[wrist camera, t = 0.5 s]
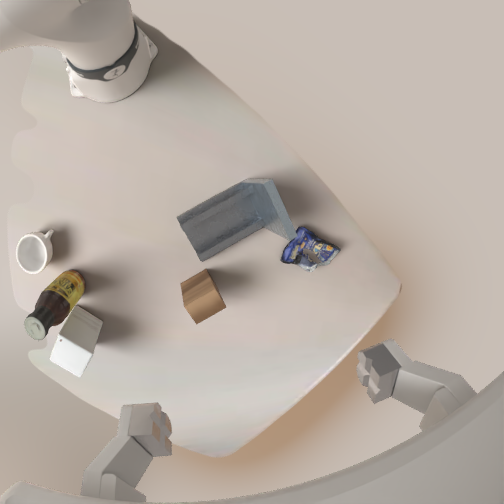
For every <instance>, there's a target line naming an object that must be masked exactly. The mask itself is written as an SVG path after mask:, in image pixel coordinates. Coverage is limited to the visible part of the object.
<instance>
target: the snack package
mask: <svg viewBox="0 0 504 504" xmlns="http://www.w3.org/2000/svg"><path fill="white" fill-rule="evenodd" d="M296 234H297V237H295V238H294V239H292V240H291V241H290V242H289V243H290V244H289V246H288V245H287V246H288V247H287V246H286V247H287V248H286V247H285V248H284V251H283V254H282V257H281V261H282V262H283V263H287V264H290V263H292V264H297V265H299V266H300V267H301V268H303V269H304V270H306V271H308V272H313V271H314V270H315V269H316V268H317V266H320V265H328V264H330V261H331V259H333V258H334V257H335V256H336V254H337V253H339V252H340V251H341V249H340V248H339V247H337V246H336V245H334V244H332V243H329V242H327V241H325V240H322V239H320V238H318V236H316V235H315V234H314V233H313V232H312V231H309V230H308V229H306V228H304V227H298V228H297V230H296ZM303 248H305V249H309V250H312V251H313V252H314V253H315V254H316V255H317V257H318V258H319V259H320V261H322V263H320V262H319V263H320V264H317V263H316V262H314V261H313V260H312V259H311V258H310V257H309V255H308V254H303ZM324 261H326V262H324Z"/></svg>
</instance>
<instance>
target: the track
mask: <svg viewBox="0 0 504 504" xmlns="http://www.w3.org/2000/svg"><path fill="white" fill-rule="evenodd" d="M177 219H178V221H179V223H180V226H181V228H182V230H183V231H184V232H185V234H186V235H187V237H188V239H189V241H190V242H191V244H192V246H193V248H194V249H195V251H196V253H197V256H198V257H199V259H200V261H202V262H203V261H205V260H206V259H208V258H210V257H212V256H213V255H215V254H217V253H219V252H220V251H222V250H224V249H226V248H227V247H229V246H231V245H233V244H234V243H236V242H238V241H240V240H241V239H243V238H245V237H247V236H248V235H250V234H252V233H254V232H256V231H257V230H259V229H261V228H263V227H264V228H266V229H268V230H270V231H272V232H274V233H276V234H278V235H280V236H282V237H284V238H285V239H287V240H289V241H290V240H292V239H294V238H295V237H297V234H296V231H295V229H294V227H293V224H292V222H291V220H290V218H289V215H288V213H287V211H286V209H285V206H284V204H283V202H282V200H281V197H280V195H279V193H278V191H277V189H276V187H275V184H274V182H273V180H272V179H246V180H244V181H242V182H240V183H238V184H236V185H234V186H232V187H230V188H228V189H226V190H225V191H223V192H221V193H219V194H217V195H215V196H213V197H212V198H210V199H208V200H206V201H204V202H202V203H201V204H199V205H197V206H195V207H193V208H192V209H190V210H188V211H186V212H185V213H183V214H181V215H179V216H178V217H177Z"/></svg>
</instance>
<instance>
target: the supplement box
mask: <svg viewBox="0 0 504 504" xmlns="http://www.w3.org/2000/svg"><path fill="white" fill-rule="evenodd" d="M102 324H103V321H101V320H100V319H98V318H97V317H95V316H93V315H92V314H90V313H88V312H87V311H85V310H84V309H82V308H81V307H79V306H78V305H75V307H74V309H73V310H72V312H71V314H70V315H69V317H68V319H67V320H66V322H65V324H64V326H63V327H62V329H61V331H60V332H59V334H58V337H57V339H56V342H55V345H54V348H53V350H52V353H51V356H50V359H49V360H50V361H52V362H54V363H55V364H57V365H59V366H60V367H62V368H64V369H65V370H67V371H69V372H71V373H72V374H74V375H76V376H78V377H79V378H81V376H82V374H83V372H84V370H85V368H86V367H87V365H88V363H89V361H90V359H91V358H92V356H93V353H94V349H95V346H96V342H97V339H98V336H99V333H100V330H101V327H102Z"/></svg>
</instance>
